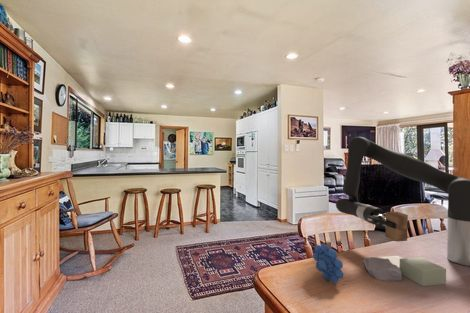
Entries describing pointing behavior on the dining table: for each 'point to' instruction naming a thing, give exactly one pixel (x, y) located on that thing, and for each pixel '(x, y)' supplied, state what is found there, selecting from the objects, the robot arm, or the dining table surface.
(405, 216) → the walnut block
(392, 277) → the stone block
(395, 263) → the cream flat slab
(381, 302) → the dining table surface
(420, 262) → the green stand
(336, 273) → the grapes
